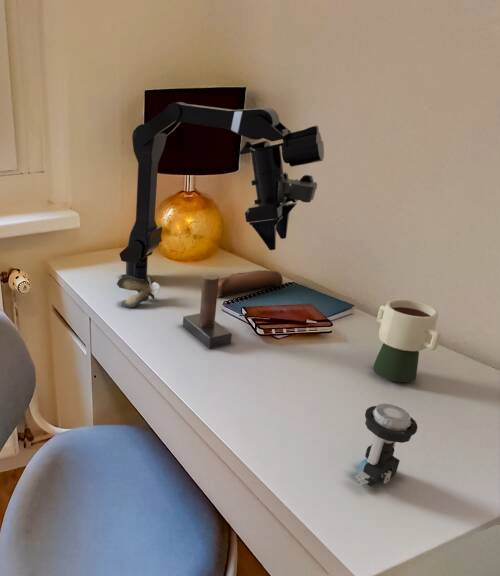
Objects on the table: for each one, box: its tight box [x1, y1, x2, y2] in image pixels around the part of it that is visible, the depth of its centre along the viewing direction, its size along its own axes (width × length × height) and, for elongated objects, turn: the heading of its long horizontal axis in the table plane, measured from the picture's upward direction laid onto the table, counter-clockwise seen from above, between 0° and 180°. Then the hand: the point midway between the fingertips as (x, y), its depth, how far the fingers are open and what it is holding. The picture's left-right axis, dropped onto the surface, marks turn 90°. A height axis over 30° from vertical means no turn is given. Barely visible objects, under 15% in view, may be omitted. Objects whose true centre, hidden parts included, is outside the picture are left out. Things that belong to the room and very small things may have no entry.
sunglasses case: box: [217, 269, 284, 298], centre depth 115 cm, size 18×7×7 cm
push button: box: [353, 403, 418, 487], centre depth 57 cm, size 7×5×10 cm
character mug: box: [372, 299, 442, 383], centre depth 77 cm, size 11×7×13 cm, turn 14°
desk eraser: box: [182, 273, 233, 350], centre depth 92 cm, size 10×5×13 cm, turn 19°
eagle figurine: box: [116, 276, 161, 308], centre depth 109 cm, size 8×7×9 cm
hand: (278, 244), depth 99 cm, fingers open, 9 cm apart
